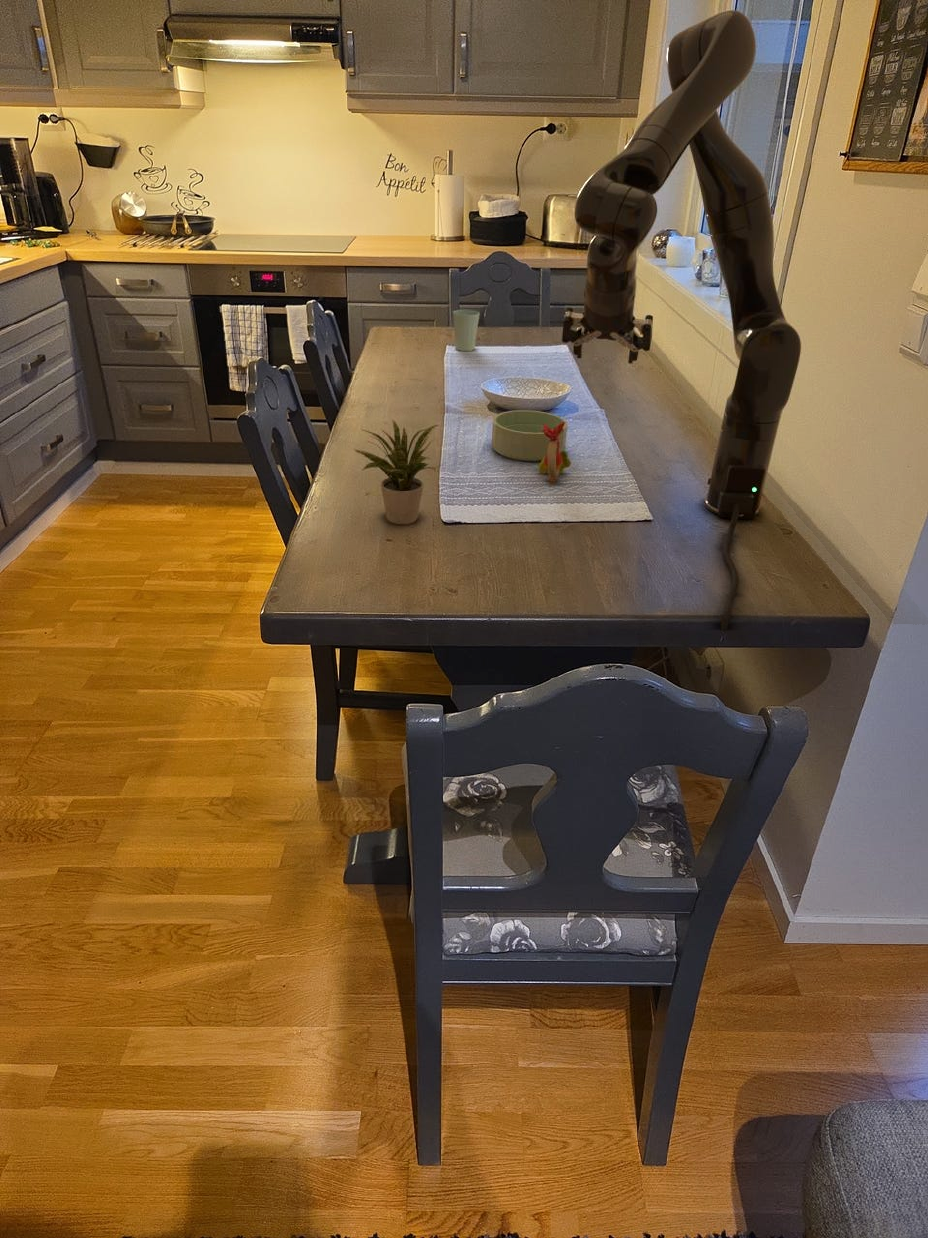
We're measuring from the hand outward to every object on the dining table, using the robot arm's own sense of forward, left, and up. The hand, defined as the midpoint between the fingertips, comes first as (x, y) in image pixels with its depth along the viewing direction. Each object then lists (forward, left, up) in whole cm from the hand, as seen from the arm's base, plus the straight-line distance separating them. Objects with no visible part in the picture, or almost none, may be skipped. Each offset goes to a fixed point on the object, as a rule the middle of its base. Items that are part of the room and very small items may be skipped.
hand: (605, 356), depth 140 cm
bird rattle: (+9, +6, -26) cm, 28 cm away
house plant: (-13, +32, -26) cm, 43 cm away
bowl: (+24, +11, -25) cm, 36 cm away
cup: (+109, +30, -26) cm, 116 cm away
